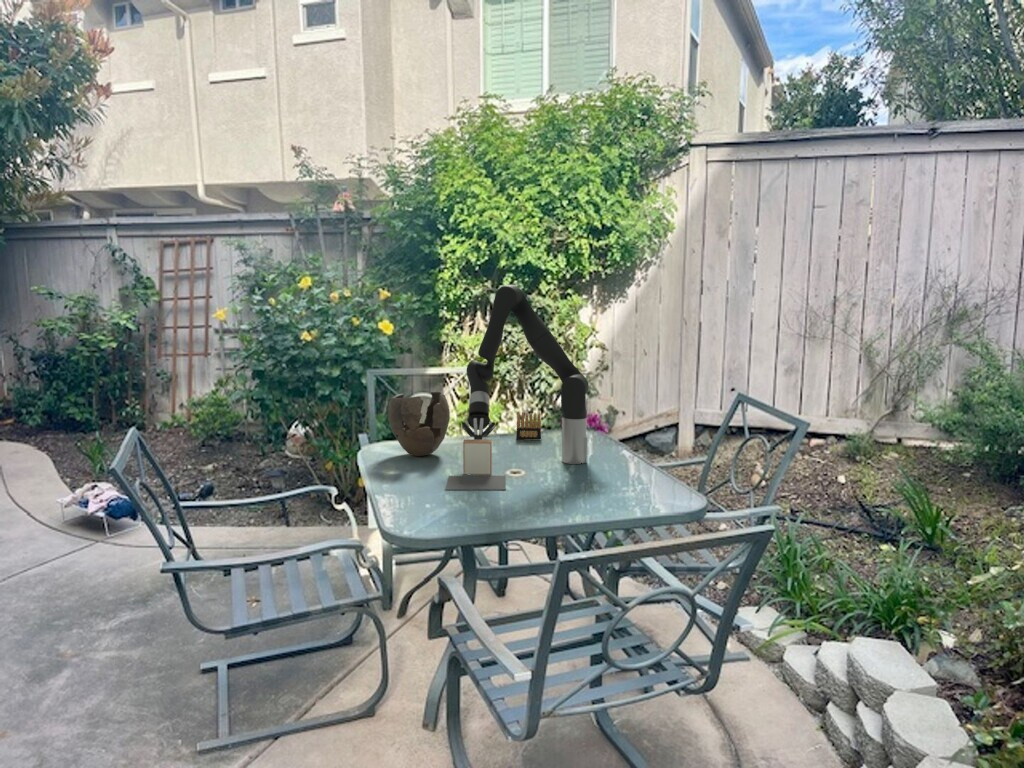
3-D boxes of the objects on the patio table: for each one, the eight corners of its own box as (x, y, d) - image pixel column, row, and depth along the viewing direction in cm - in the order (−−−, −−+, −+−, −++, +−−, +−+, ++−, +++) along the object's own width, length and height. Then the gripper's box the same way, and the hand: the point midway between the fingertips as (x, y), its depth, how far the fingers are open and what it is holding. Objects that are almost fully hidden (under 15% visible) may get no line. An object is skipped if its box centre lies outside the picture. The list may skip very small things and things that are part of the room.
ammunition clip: (541, 439, 306) (541, 411, 304) (541, 440, 304) (541, 412, 302) (516, 438, 306) (516, 411, 304) (516, 439, 304) (516, 412, 303)
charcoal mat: (505, 476, 250) (505, 475, 250) (505, 490, 234) (505, 489, 234) (448, 476, 250) (448, 475, 249) (445, 490, 234) (445, 489, 234)
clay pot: (439, 464, 265) (438, 398, 261) (379, 460, 270) (377, 396, 266) (457, 448, 288) (456, 388, 284) (401, 445, 293) (399, 386, 289)
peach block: (491, 471, 256) (491, 439, 254) (491, 475, 252) (491, 442, 250) (464, 471, 255) (463, 439, 254) (463, 475, 251) (463, 442, 250)
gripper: (461, 400, 264) (459, 440, 254) (496, 400, 264) (496, 440, 254) (462, 411, 270) (460, 450, 260) (496, 411, 270) (496, 450, 260)
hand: (478, 445), depth 257 cm, fingers closed
